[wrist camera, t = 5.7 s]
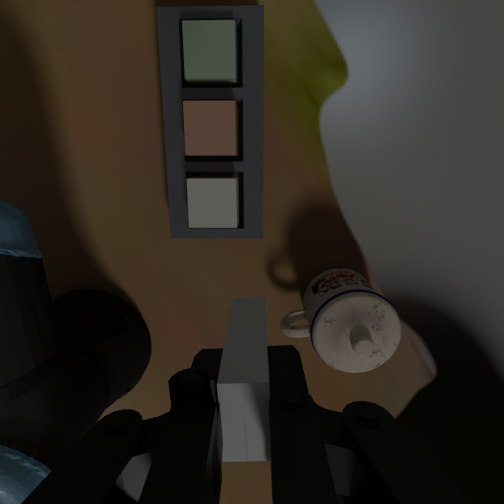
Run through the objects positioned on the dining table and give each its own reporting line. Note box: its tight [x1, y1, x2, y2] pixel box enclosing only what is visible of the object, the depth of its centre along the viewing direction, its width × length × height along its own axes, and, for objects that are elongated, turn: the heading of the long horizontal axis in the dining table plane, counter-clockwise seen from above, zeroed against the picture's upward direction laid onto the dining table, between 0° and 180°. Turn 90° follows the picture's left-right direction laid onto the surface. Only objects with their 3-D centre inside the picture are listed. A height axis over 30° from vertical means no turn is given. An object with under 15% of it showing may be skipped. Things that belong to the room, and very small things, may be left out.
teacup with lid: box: [281, 268, 401, 373], centre depth 38 cm, size 12×9×12 cm
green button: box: [182, 20, 238, 87], centre depth 34 cm, size 5×5×4 cm
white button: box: [187, 177, 239, 228], centre depth 36 cm, size 5×5×4 cm
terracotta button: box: [183, 101, 238, 156], centre depth 34 cm, size 5×5×4 cm
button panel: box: [156, 5, 264, 238], centre depth 37 cm, size 10×22×4 cm, turn 0°
